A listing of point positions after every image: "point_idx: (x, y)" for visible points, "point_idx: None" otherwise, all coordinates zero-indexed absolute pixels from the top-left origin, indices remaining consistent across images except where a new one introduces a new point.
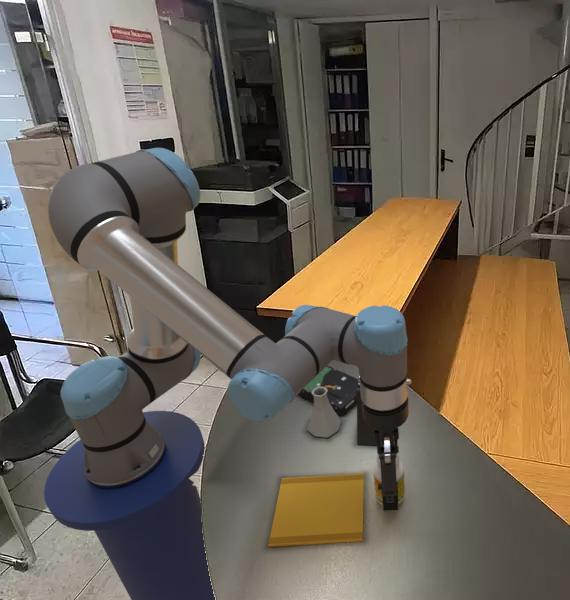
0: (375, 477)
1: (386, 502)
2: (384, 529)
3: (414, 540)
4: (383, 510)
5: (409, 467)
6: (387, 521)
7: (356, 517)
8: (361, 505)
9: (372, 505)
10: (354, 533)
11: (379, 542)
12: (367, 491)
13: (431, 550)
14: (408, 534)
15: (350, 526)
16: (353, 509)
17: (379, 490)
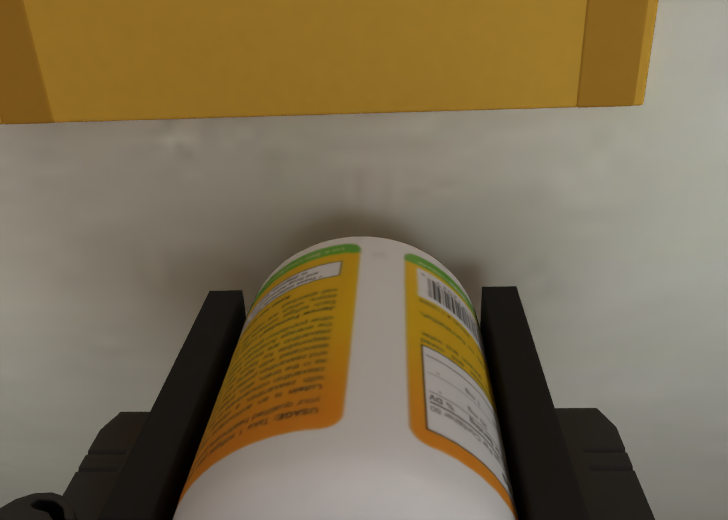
0: (244, 446)
1: (115, 417)
2: (126, 263)
3: (80, 421)
4: (207, 295)
5: (638, 424)
6: (190, 282)
7: (178, 64)
8: (296, 101)
9: (319, 179)
10: (25, 58)
11: (24, 232)
12: (456, 135)
13: (38, 490)
14: (113, 395)
15: (87, 16)
16: (252, 32)
17: (234, 370)
